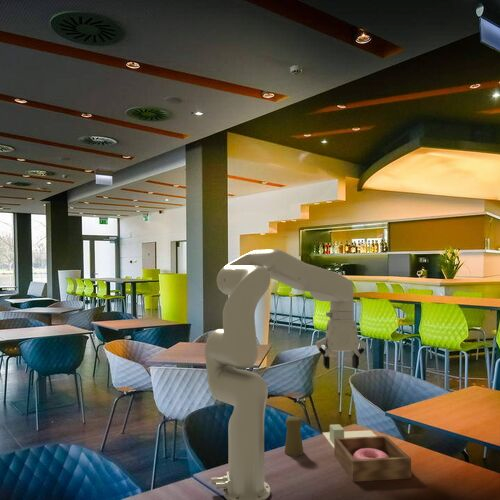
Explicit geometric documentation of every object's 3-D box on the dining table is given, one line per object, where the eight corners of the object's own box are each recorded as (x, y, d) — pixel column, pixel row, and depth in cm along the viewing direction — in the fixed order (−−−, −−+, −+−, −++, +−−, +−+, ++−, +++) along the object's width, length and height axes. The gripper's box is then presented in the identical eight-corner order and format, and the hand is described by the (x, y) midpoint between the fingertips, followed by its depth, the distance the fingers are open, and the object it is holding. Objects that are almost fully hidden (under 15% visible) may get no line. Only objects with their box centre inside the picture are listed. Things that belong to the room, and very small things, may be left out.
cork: (303, 448, 147) (303, 414, 147) (303, 456, 141) (303, 421, 141) (284, 448, 147) (284, 414, 148) (284, 455, 141) (284, 420, 142)
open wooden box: (353, 481, 124) (352, 461, 124) (334, 456, 141) (334, 438, 141) (411, 478, 126) (411, 458, 126) (386, 453, 143) (385, 435, 143)
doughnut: (350, 472, 130) (350, 457, 130) (354, 457, 141) (354, 443, 141) (390, 477, 127) (389, 462, 127) (390, 461, 137) (390, 447, 137)
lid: (338, 455, 143) (337, 437, 143) (322, 434, 160) (322, 418, 161) (392, 452, 145) (391, 434, 145) (370, 432, 163) (370, 416, 163)
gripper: (319, 316, 145) (319, 370, 144) (370, 317, 147) (370, 370, 146) (313, 314, 152) (312, 366, 151) (362, 315, 154) (361, 365, 153)
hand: (341, 368), depth 148 cm, fingers open, 9 cm apart
